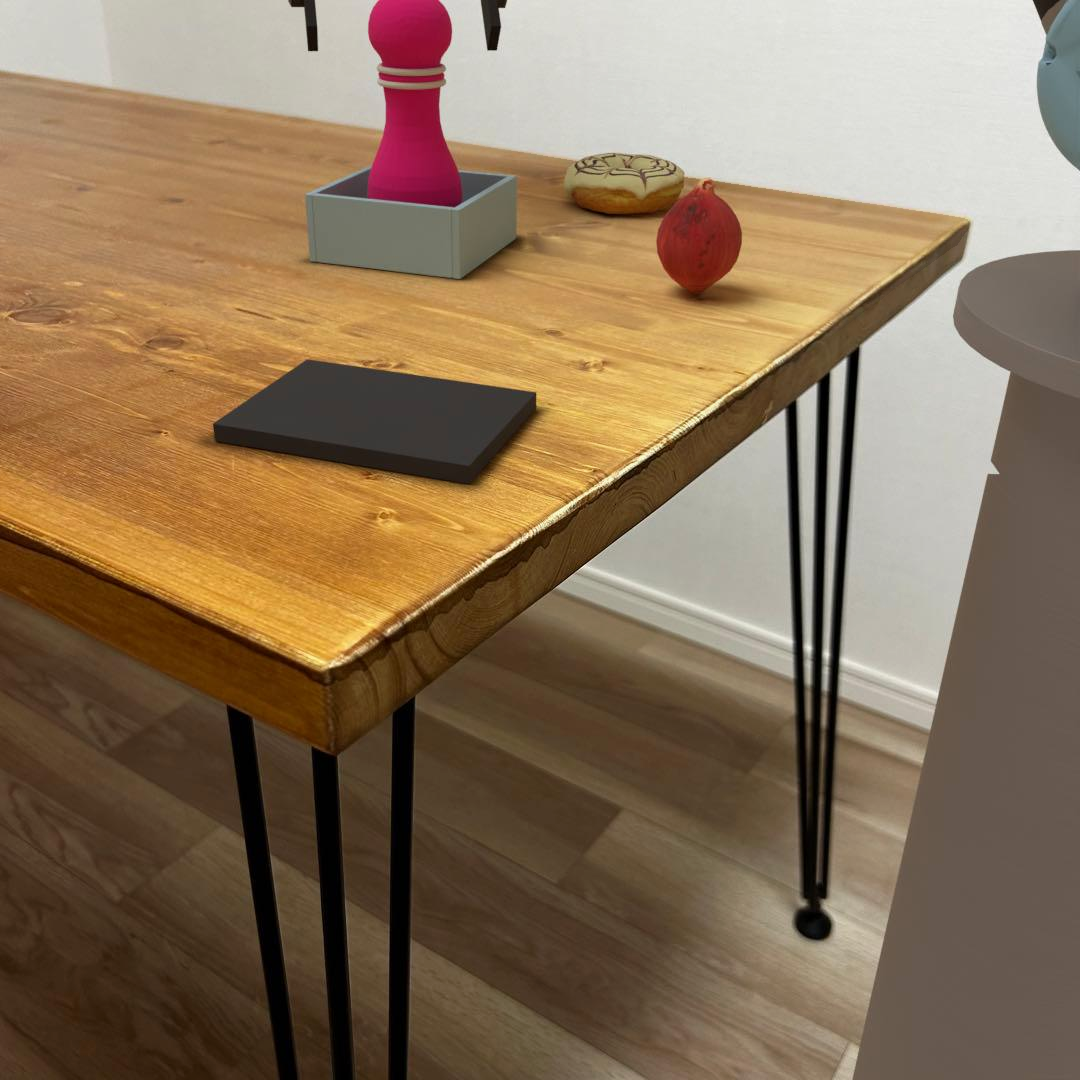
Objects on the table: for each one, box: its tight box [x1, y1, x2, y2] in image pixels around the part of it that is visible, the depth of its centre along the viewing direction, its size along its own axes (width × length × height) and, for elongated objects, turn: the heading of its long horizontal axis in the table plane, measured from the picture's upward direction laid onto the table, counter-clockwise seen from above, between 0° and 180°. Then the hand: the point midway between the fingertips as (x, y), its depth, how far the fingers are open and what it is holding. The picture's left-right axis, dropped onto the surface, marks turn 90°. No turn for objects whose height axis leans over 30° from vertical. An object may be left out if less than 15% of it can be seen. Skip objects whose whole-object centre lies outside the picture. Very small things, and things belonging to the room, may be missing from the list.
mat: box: [212, 358, 537, 485], centre depth 63 cm, size 14×10×1 cm
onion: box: [655, 177, 743, 295], centre depth 82 cm, size 6×6×8 cm
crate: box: [304, 164, 518, 280], centre depth 92 cm, size 12×12×5 cm
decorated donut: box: [563, 152, 685, 215], centre depth 107 cm, size 10×11×4 cm
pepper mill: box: [367, 0, 462, 208], centre depth 88 cm, size 7×7×20 cm
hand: (404, 39), depth 89 cm, fingers open, 13 cm apart
